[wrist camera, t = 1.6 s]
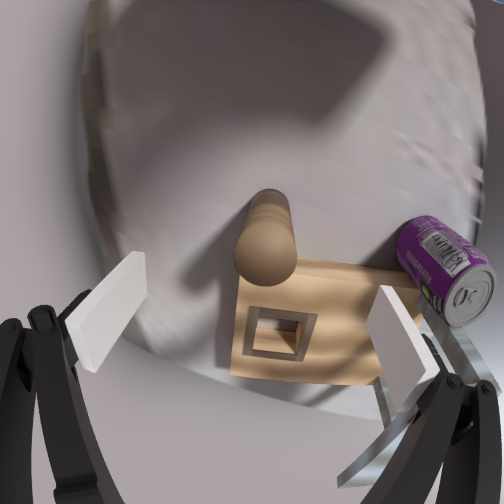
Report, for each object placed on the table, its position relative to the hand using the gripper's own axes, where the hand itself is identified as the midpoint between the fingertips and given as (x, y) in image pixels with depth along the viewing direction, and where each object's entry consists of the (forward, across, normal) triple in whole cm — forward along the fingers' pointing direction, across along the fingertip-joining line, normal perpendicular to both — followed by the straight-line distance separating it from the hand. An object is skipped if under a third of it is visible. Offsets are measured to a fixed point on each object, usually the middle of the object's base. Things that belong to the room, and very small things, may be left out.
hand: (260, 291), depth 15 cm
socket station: (+15, +9, -13) cm, 22 cm away
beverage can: (+16, +18, -1) cm, 24 cm away
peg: (+15, 0, 0) cm, 15 cm away
